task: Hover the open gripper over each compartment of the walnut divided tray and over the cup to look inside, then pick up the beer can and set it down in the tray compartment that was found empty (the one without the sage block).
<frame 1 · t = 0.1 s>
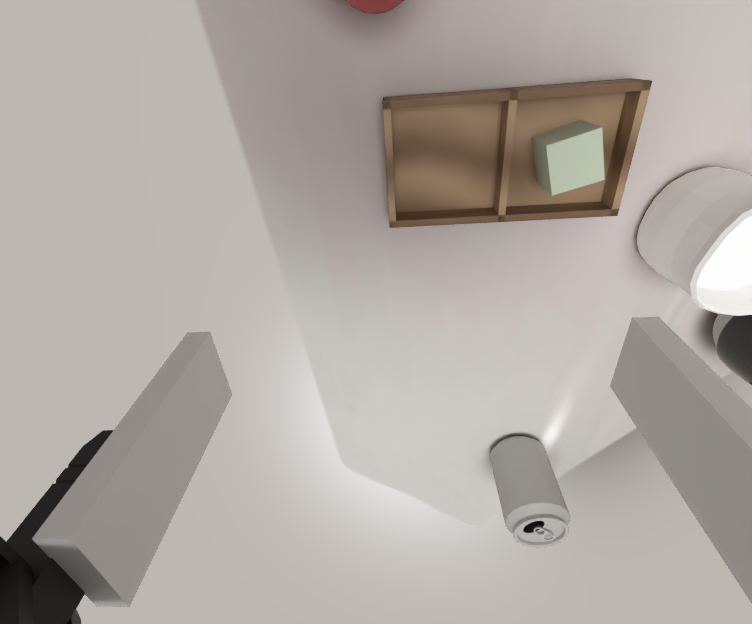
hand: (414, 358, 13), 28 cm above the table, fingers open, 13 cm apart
cup: (683, 218, 38), on the table
dark rounded piece: (746, 311, 43), on the table
can: (515, 448, 57), on the table
sage block: (558, 152, 34), point 1 cm above the table, touching tray
tray: (498, 153, 36), on the table
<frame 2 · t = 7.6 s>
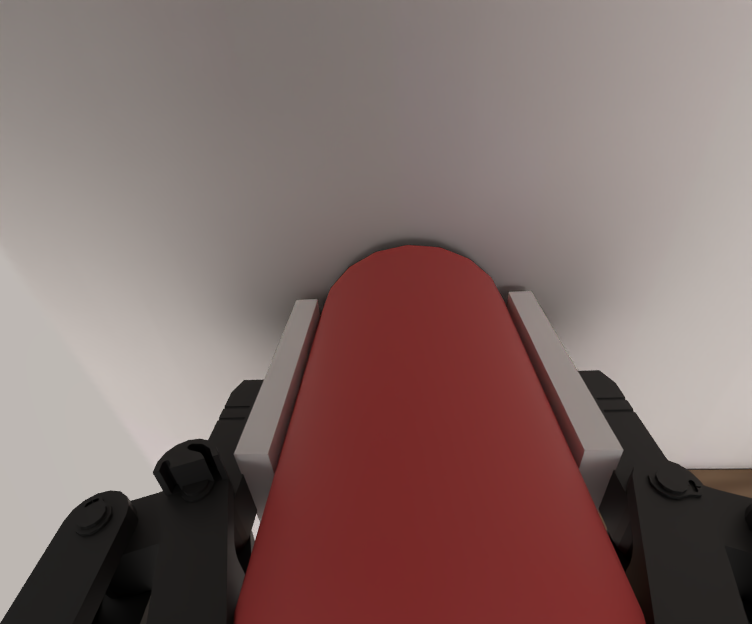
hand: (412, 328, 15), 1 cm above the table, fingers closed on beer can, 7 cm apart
tray: (603, 530, 22), on the table
beer can: (411, 317, 15), on the table, touching gripper
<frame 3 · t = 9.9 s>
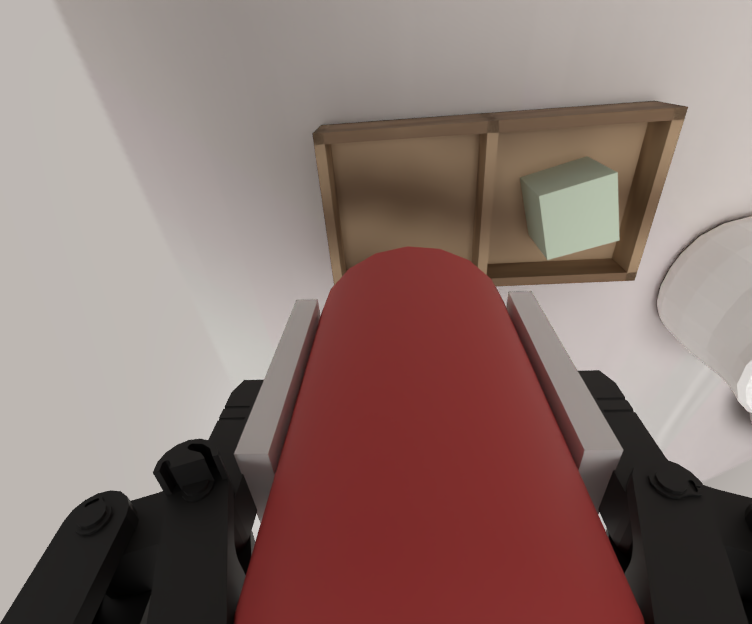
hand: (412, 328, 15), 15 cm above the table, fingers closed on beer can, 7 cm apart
cup: (718, 276, 30), on the table
sage block: (556, 197, 26), point 1 cm above the table, touching tray
tray: (477, 197, 27), on the table
beer can: (411, 318, 15), point 15 cm above the table, touching gripper
when the fingers open (4 cm above the table, at t = 12.3 s): beer can drops 2 cm, resting on tray.
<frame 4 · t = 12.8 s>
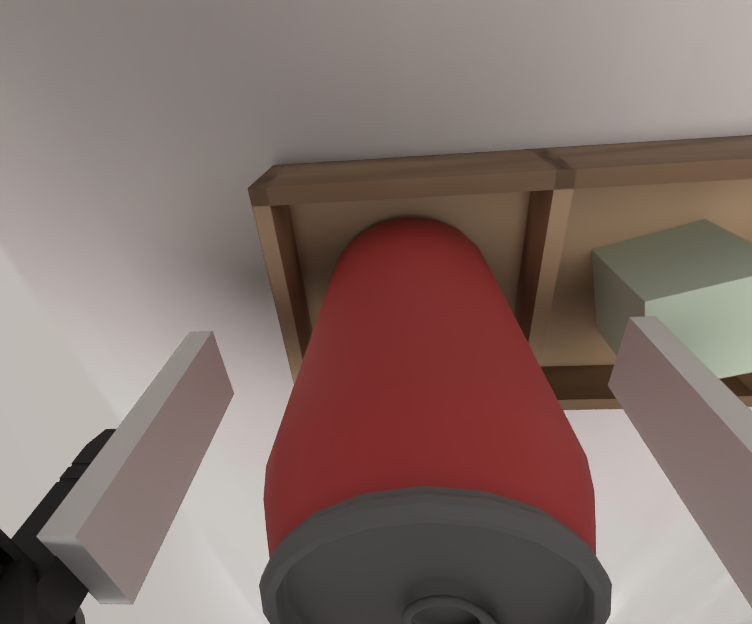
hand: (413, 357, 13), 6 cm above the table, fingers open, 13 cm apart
sage block: (646, 278, 16), point 1 cm above the table, touching tray
tray: (519, 272, 18), on the table
beer can: (409, 288, 17), point 1 cm above the table, touching tray
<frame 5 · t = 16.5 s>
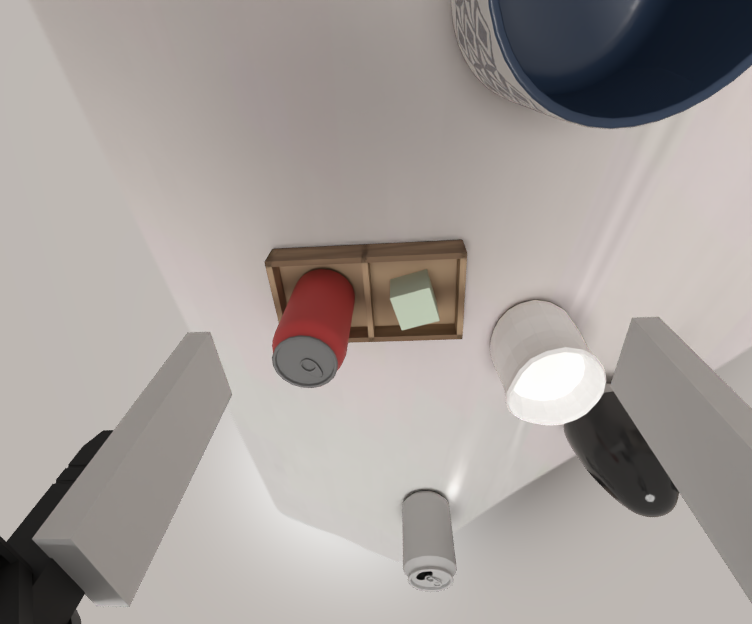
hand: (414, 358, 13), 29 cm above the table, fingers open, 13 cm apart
cup: (527, 332, 47), on the table
dark rounded piece: (594, 399, 52), on the table
can: (425, 500, 66), on the table
sage block: (413, 290, 43), point 1 cm above the table, touching tray
tray: (369, 287, 44), on the table
beer can: (325, 292, 44), point 1 cm above the table, touching tray
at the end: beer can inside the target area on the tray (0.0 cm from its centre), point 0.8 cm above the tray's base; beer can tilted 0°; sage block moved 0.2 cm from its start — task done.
